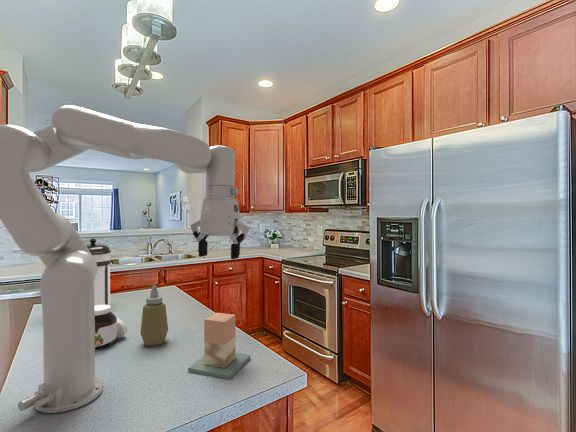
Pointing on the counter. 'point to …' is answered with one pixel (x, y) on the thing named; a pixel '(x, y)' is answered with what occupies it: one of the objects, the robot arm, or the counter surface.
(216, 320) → the terracotta block
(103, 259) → the coffee press
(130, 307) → the counter surface
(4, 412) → the counter surface
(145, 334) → the squeeze bottle
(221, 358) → the maple block
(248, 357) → the plate
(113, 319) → the spread jar
